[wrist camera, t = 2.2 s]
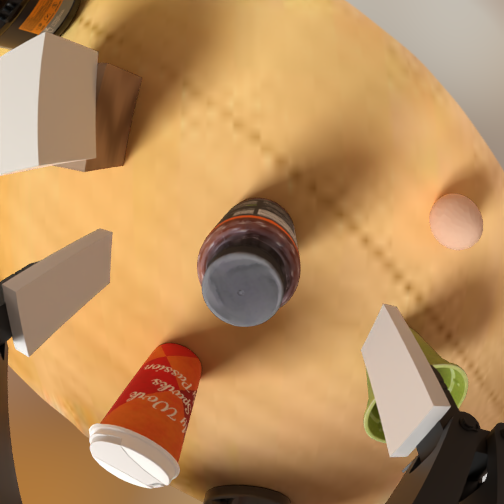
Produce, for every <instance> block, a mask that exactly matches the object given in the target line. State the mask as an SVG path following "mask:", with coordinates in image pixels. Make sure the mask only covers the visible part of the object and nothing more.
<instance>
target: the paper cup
mask: <svg viewBox="0 0 504 504" xmlns="http://www.w3.org/2000/svg"><path fill="white" fill-rule="evenodd" d="M201 371H202V367H201V363H200V360H199V359H198V357H197V356H196V355H195V354H194V353H193V352H192V351H191V350H190V349H188V348H186V347H184V346H182V345H179V344H175V343H165V344H162V345H160V346H158V347H157V348H156V349H155V350H154V351H153V352H152V354H151V355H150V356H149V358H148V359H147V360H146V361H145V363H144V364H143V365H142V367H141V368H140V369H139V371H138V372H137V373H136V375H135V376H134V378H133V379H132V380H131V382H130V383H129V384H128V386H127V387H126V388H125V390H124V391H123V393H122V394H121V395H120V397H119V398H118V399H117V401H116V402H115V404H114V405H113V406H112V408H111V409H110V411H109V412H108V413H107V415H106V416H105V417H104V419H103V420H102V422H101V423H100V424H98V423H96V424H94V425H92V426H91V427H90V429H89V433H90V439H89V440H90V443H91V445H90V451H91V454H92V456H93V457H94V459H95V460H96V461H97V462H98V463H99V464H100V465H101V466H102V467H103V468H105V469H106V470H107V471H109V472H110V473H112V474H113V475H115V476H117V477H119V478H120V479H122V480H124V481H127V482H129V483H132V484H134V485H138V486H141V487H145V488H154V487H155V488H157V487H162V486H165V485H169V484H170V482H171V481H172V480H173V479H174V478H176V477H177V476H178V475H179V472H180V467H179V465H178V461H179V457H180V453H181V449H182V445H183V442H184V438H185V434H186V430H187V427H188V423H189V419H190V415H191V412H192V408H193V404H194V400H195V396H196V393H197V389H198V385H199V381H200V377H201ZM164 484H165V485H164Z"/></svg>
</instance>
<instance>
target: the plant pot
mask: <svg viewBox="0 0 504 504" xmlns="http://www.w3.org/2000/svg"><path fill="white" fill-rule="evenodd" d="M409 328H410V327H409ZM410 330H411V332H412V334H413V335H414V337H415V339H416V341H417V342H418V344H419V346H420V348H421V350H422V351H423V353H424V355H425V357H426V359H427V361H428V362H429V364H430V365H433V366H434V367H435V368H436V369H437V371H438V372H439V373H440V374H441V376H442V378H443V380H444V383H445V384H446V386H447V387H448V390H449V391H450V393H451V395H452V397H453V399H454V401H455V403H456V405H457V407H458V409H459V407H460V406H461V404H462V402H463V401H464V399H465V396H466V394H467V390H468V378H467V375H466V373H465V371H464V370H463V369H462V368H461V367H459V366H458V365H456V364H453V363H449V362H448V361H446V360H444V359H442V358H441V357H440V356H439V355H438V354H437V353H436V352H435V351H434V350H433V349H432V348H431V347H430V346H429V344H428V343H427V342H426V341H425V340H424V339H423V338H422V337H421V336H420V335H419V334H418V333H417V332H416V331H415V330H413V329H412V328H410ZM366 374H367V385H368V396H369V399H368V404H367V409H366V411H365V414H364V428H365V431H366V433H367V434H368V435H369V437H371V438H372V439H374V440H376V441H379V442H382V443H386V439H385V435H384V431H383V427H382V423H381V419H380V415H379V411H378V408H377V404H376V400H375V397H374V393H373V389H372V386H371V382H370V379H369V375H368V372H367V368H366Z"/></svg>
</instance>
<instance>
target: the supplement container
mask: <svg viewBox="0 0 504 504" xmlns="http://www.w3.org/2000/svg"><path fill="white" fill-rule="evenodd" d="M80 3H81V0H0V48H5V49H10V50H12V49H14V48H16V47H18V46H19V45H21V44H23V43H25V42H27V41H28V40H30V39H32V38H34V37H36V36H38V35H40V34H42V33H44V32H48V33H51V34H54V35H56V36H60V35H61V34H62V33H63V32H64V30H65V29H66V28H67V27H68V25H69V24H70V22H71V21H72V19H73V18H74V16H75V14H76V12H77V10H78V8H79V6H80Z"/></svg>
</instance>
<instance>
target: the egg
mask: <svg viewBox="0 0 504 504" xmlns="http://www.w3.org/2000/svg"><path fill="white" fill-rule="evenodd" d="M429 223H430V228H431V231H432V233H433V235H434V237H435V238H436V239H437V240H438V242H439V243H441V244H442V245H444V246H445V247H447V248H450V249H453V250H463V249H467V248H470V247H471V246H473V245H474V244H475V243H477V241H478V240H479V239H480V237H481V235H482V231H483V220H482V216H481V213H480V211H479V209H478V208H477V206H476V205H475V204H474V202H473V201H472V200H470V199H469V198H467V197H465V196H463V195H460V194H455V193H452V194H446V195H444V196H442V197H441V198H439V199H438V200H437V201H436V202H435V203H434V205H433V206H432V209H431V211H430V216H429Z"/></svg>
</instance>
